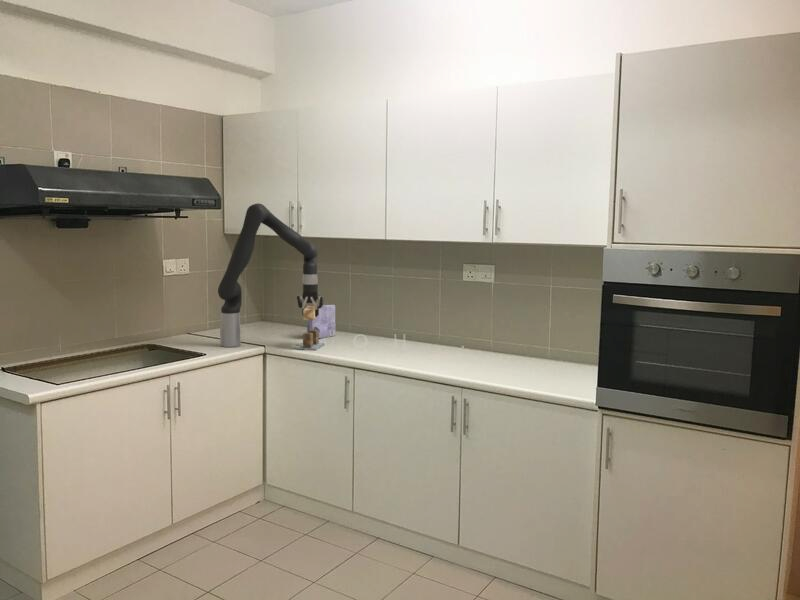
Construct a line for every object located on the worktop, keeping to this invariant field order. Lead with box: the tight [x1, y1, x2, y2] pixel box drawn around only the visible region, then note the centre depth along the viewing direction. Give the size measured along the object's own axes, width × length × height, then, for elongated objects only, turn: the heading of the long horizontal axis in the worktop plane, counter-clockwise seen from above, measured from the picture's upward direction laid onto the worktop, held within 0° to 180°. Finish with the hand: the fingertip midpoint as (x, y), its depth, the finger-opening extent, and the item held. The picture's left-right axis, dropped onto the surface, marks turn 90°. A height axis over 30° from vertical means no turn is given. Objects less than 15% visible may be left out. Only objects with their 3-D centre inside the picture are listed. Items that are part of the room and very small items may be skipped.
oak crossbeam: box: [302, 305, 316, 321], centre depth 327 cm, size 5×15×5 cm, turn 0°
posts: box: [302, 330, 320, 348], centre depth 329 cm, size 4×13×7 cm, turn 169°
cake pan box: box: [306, 304, 337, 339], centre depth 356 cm, size 19×5×18 cm, turn 141°
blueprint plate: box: [296, 342, 326, 351], centre depth 329 cm, size 10×14×1 cm
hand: (310, 316), depth 327 cm, fingers closed on oak crossbeam, 5 cm apart
